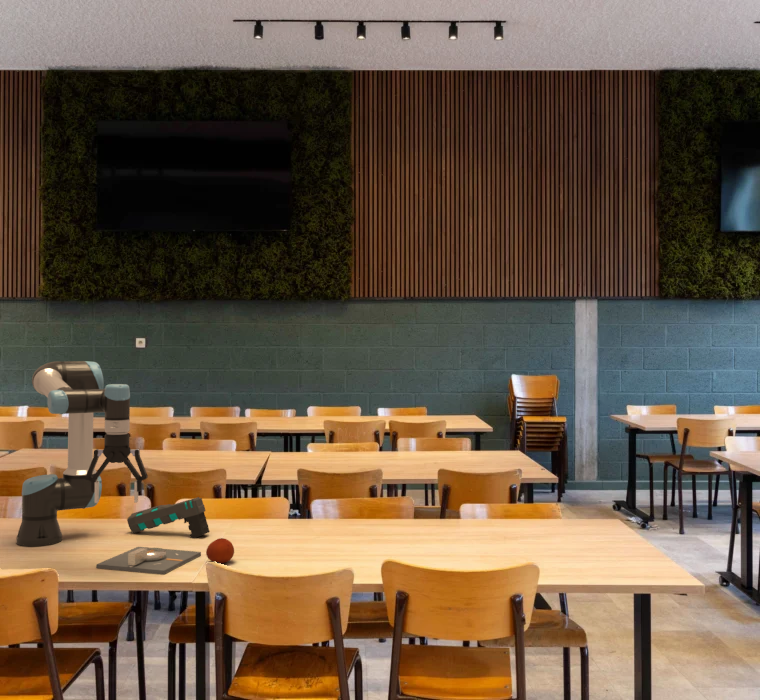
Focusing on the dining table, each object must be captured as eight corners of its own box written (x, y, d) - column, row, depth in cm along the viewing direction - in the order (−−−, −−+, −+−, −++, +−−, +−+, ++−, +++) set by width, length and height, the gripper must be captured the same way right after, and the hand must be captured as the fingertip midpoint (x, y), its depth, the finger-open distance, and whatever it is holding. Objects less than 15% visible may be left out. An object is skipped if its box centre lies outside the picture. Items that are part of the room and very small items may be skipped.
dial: (145, 552, 273) (145, 540, 273) (171, 555, 270) (171, 543, 270) (117, 565, 258) (117, 552, 258) (145, 567, 255) (145, 554, 255)
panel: (96, 568, 258) (96, 563, 258) (138, 550, 282) (138, 546, 282) (163, 574, 252) (163, 570, 252) (200, 555, 275) (200, 551, 275)
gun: (205, 534, 299) (194, 495, 300) (135, 555, 304) (124, 516, 305) (212, 531, 305) (201, 492, 306) (143, 551, 311) (133, 512, 312)
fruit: (224, 557, 273) (224, 533, 273) (238, 563, 266) (238, 538, 266) (201, 562, 267) (201, 537, 267) (214, 567, 261) (214, 542, 260)
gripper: (75, 434, 252) (74, 504, 252) (153, 434, 255) (153, 503, 255) (80, 432, 260) (80, 500, 260) (157, 431, 263) (156, 499, 263)
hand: (116, 502), depth 257 cm, fingers open, 11 cm apart
